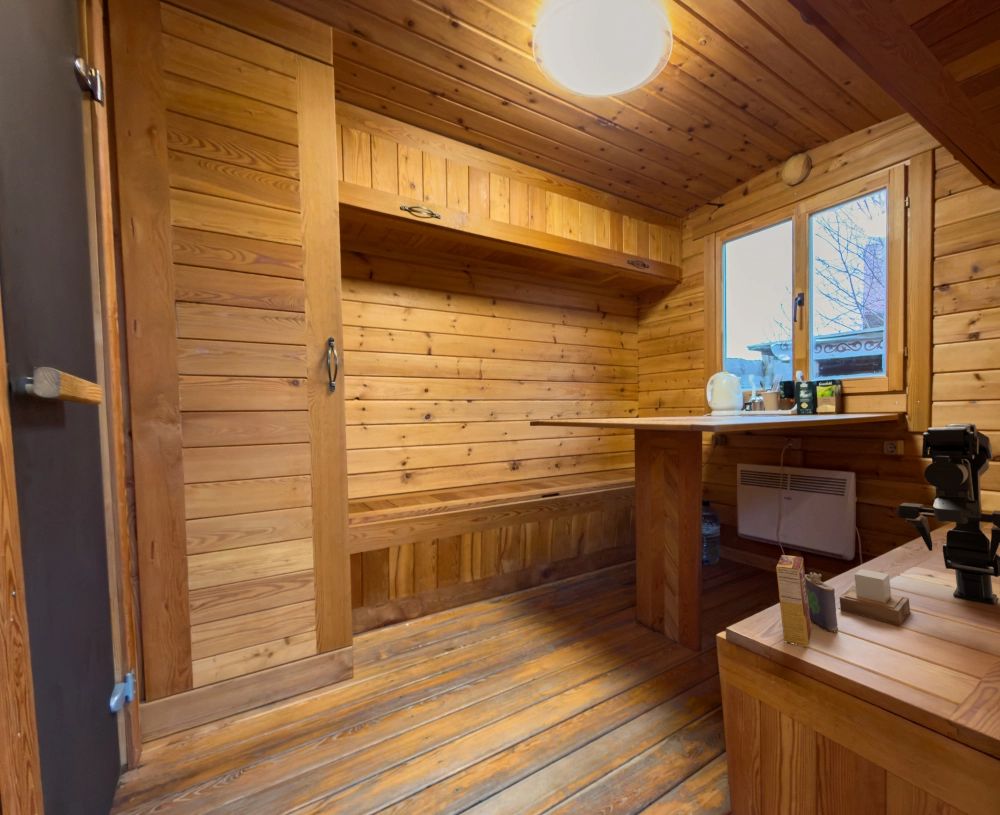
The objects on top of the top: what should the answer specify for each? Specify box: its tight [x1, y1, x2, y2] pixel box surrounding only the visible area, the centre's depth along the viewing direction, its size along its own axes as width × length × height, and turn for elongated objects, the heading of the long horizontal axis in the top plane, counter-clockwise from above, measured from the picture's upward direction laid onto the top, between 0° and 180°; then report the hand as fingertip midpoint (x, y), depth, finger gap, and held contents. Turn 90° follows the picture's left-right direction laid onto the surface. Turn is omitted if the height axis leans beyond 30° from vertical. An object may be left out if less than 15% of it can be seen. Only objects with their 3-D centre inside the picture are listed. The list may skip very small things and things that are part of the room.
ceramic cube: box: [854, 568, 892, 603], centre depth 96 cm, size 5×5×5 cm
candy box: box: [775, 554, 812, 648], centre depth 87 cm, size 9×4×15 cm, turn 140°
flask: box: [805, 572, 839, 634], centre depth 92 cm, size 9×3×11 cm, turn 172°
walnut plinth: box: [839, 585, 911, 626], centre depth 96 cm, size 10×10×3 cm
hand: (960, 554), depth 92 cm, fingers open, 9 cm apart
